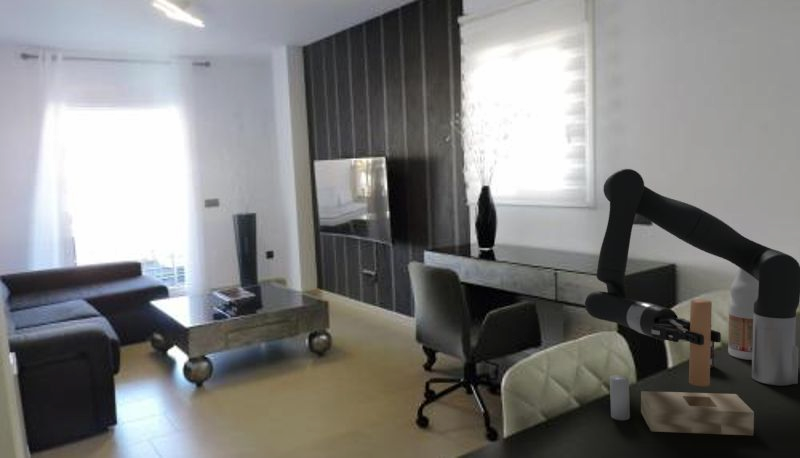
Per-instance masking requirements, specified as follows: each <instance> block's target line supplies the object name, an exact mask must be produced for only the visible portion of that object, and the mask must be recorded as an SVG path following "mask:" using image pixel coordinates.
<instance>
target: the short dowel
mask: <svg viewBox="0 0 800 458" xmlns="http://www.w3.org/2000/svg"><path fill="white" fill-rule="evenodd" d="M609 391H610V392H609V396H610V416H611V418H612V419H614V420H617V421H628V420H629V419H630V418H631V413H630V412H631V410H630V407H631V406H630V405H631V404H630V381H629V377H628V376H626V375H621V374H615V375H610V376H609Z"/></svg>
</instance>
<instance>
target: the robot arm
mask: <svg viewBox="0 0 800 458" xmlns="http://www.w3.org/2000/svg"><path fill="white" fill-rule="evenodd" d="M603 194H604V196H605V198H606V199H607V200H608V202H609V213H608V220H607V225H606V228H605V233H604V236H603V240H602V243H601V247H600V251H599V256H598V261H597V262H598V263H597V268H596V269H597V270H596V279H597V280H598V281H599V282H602V283H603V284H605V285H606V289H607V291H601V290H596V291H593V292H590V293H589V294H588V295H587V296H586V298H585V301H584V307H585V310H586V312H587V314H589V315H590V316H591V317H593V318H595V319H598V320H603V321H605V322H610V323H616V324H618V325H621V326H623V327H624V328H625V327H626V328H629V329H631V330H634V331H635V332H637V333H639V334H642V335H645V336H647V337H650V338H653V339H656V340H659V341H669V342H673V343H678V342H679V341H681V342H684V343H686V342H689V343H690V342H691V343H694V344H697V345H703V344H704V336H703V335H702V334H699V333H695V332H692V331H690V320H687V319H685V318H684V317H678V315H677V314H676V312H675V311H674V310H672V309H671V308H669V307H668V308H667V307H664V306H662V305H661V306H660V305H658V304H654V303H652V302H645V301H644V302H643V301H639V300H636V299H631V298H628V296H627V287H626V280H625V276H626V273H627V272H626V271H627V264H628V258H629V249H630V243H631V236H632V231H633V227H634V221H635V219H636V215H638V216H640V217H642V218H645V219H646V220H648V221H650V222H651V223H653V224H655V225H656V226H658V227H659V228H661V229H663V230H664V231H666V232H668V233H669V234H671V235H673V236H674V237H675V238H676V239H679V240H681V241H683V242H684V243H686V244H688V245H690V246H692V247H693V248H697V249H699V250H700V251H703V252H705V253H708V254H709V255H713V256H715V257H719V258H720V259H723V260H726V261H728V262H730V263H731V264H733V265H734V266H737V267H738V268H739V269H740V268H741V269H743V270H744V271H746V272H747V273H748V274H750V275H751V276H753V277H754V278H755V279H756V280H758V281H759V288H758V298H757V300H756V301H755V302H754V309H753V349H752V360H751V378H752V379H753V380H755V381H756V382H759V383H762V384H765V385H772V386H790V385H797V384H798V381H799V379H798V378H799V377H798V375H799V353H800V352H799V350H800V349H799V347H798V346H797V345H796V330H797V329H796V324H797V309H798V308H799V305H800V263H799V262H798V260H797V259H795V258H794V257H793V256H791V255H789V254H787V253H784V252H783V251H780V250H777V249H774V248H771V247H768V246H766V245H763V244H760V243H759V242H756V241H754V240H752V239H749V238H748V237H745V236H744V235H742V234H740V232H738V231H737V230H736V229H734V228H733V227H731V226H730V225H729V224H728V223H726V222H724V221H723V220H722V219H719V218H718V217H716V216H714V215H713V214H711V213H710V212H707V211H704V210H703V209H701V208H700V207H697V206H694V205H692V204H689V203H686V202H684V201H681V200H677V199H673V198H671V197H667V196H664V195H662V194H660V193H657V192H656V191H654V190H652V189H650V188H649V187H647V186H645V181H644V179H643V177H642V175H641V174H640V173H639V172H638V171H637V170H635V169H632V168H622V169H619V170H617V171H615V172H614V173H612V174H611V175H610V176H608V177H607V179H606V180H605V181H604V184H603ZM711 341H713V342H714V343H721V341H722V333H721V332H720V331H718V330H715V329H711Z"/></svg>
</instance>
